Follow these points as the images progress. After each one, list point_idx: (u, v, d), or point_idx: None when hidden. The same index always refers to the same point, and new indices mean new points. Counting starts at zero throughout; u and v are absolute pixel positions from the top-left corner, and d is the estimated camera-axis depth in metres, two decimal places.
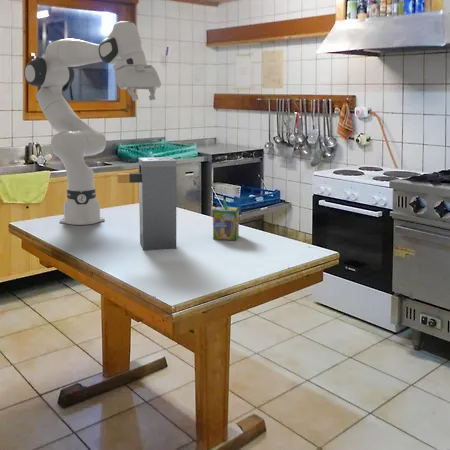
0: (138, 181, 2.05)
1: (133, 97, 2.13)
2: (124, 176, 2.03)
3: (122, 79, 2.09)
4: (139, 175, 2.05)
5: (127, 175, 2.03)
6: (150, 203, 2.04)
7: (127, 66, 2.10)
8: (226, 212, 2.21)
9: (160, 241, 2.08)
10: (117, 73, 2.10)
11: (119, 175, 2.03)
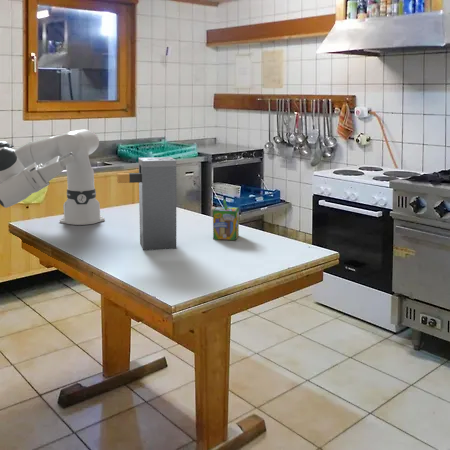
0: (138, 181, 2.05)
1: (70, 158, 1.97)
2: (124, 176, 2.03)
3: (51, 167, 1.92)
4: (139, 175, 2.05)
5: (127, 175, 2.03)
6: (150, 203, 2.04)
7: (37, 168, 1.93)
8: (226, 212, 2.21)
9: (160, 241, 2.08)
10: (47, 176, 1.92)
11: (119, 175, 2.03)
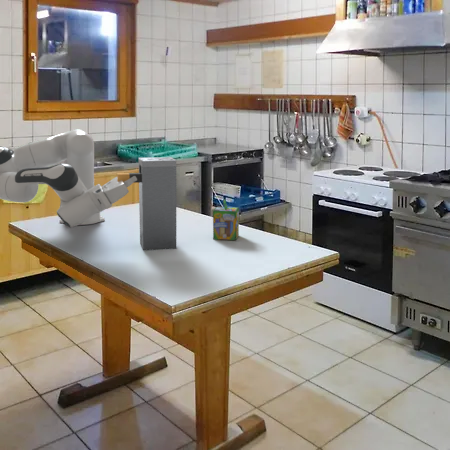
0: (138, 181, 2.05)
1: (133, 179, 2.03)
2: (124, 176, 2.03)
3: (117, 189, 1.95)
4: (139, 175, 2.05)
5: (127, 175, 2.04)
6: (150, 203, 2.04)
7: (104, 190, 1.97)
8: (226, 212, 2.21)
9: (160, 241, 2.08)
10: (113, 197, 1.96)
11: (119, 175, 2.03)
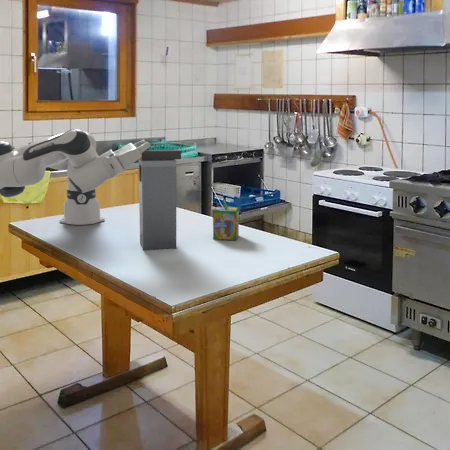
0: (150, 158, 2.04)
1: (147, 145, 1.99)
2: None
3: (130, 153, 1.94)
4: (151, 152, 2.04)
5: None
6: (150, 203, 2.04)
7: (116, 155, 1.95)
8: (226, 212, 2.21)
9: (160, 241, 2.08)
10: (126, 162, 1.94)
11: None
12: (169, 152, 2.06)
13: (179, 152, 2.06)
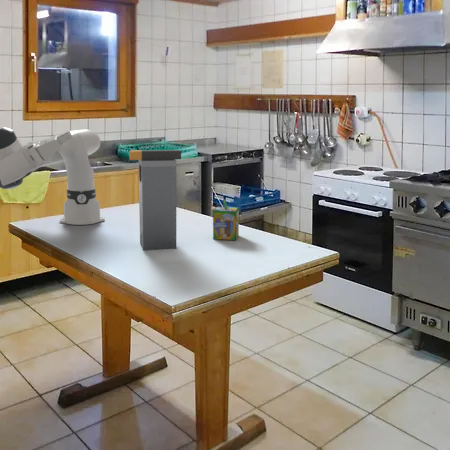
0: (150, 158, 2.04)
1: (68, 136, 1.97)
2: (136, 153, 2.03)
3: (49, 144, 1.92)
4: (151, 152, 2.04)
5: (139, 152, 2.03)
6: (150, 203, 2.04)
7: (35, 146, 1.94)
8: (226, 212, 2.21)
9: (160, 241, 2.08)
10: (45, 153, 1.93)
11: (131, 152, 2.02)
12: (169, 152, 2.06)
13: (179, 152, 2.06)
